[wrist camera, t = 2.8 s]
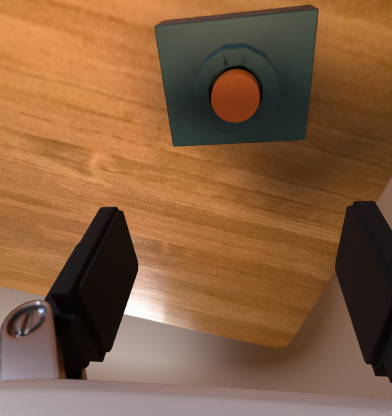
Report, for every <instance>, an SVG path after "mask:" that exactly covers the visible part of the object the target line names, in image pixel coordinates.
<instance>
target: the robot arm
mask: <svg viewBox="0 0 392 416" xmlns="http://www.w3.org/2000/svg"><path fill="white" fill-rule="evenodd" d="M335 270H336V274H337V278H338V280H339V284H340V287H341V290H342V293H343V296H344V299H345V302H346V305H347V308H348V311H349V314H350V318H351V321H352V324H353V327H354V330H355V333H356V336H357V339H358V343H359V346H360V349H361V352H362V355H363V358H364V360H365V362H366V364H371V365H372V368H373V370H374V374H375V376H386V377H388V378H389V380H390V382H391V383H392V230H391V228H390V227H389V225H388V223H387V222H386V220H385V218H384V217H383V215H382V213H381V212H380V210H379V208H378V206H377V205H376V203H375V202H374V201H355V202H354V203H353V205H352V206H348V207H347V209H346V214H345V219H344V224H343V228H342V233H341V238H340V243H339V248H338V253H337V257H336V263H335ZM137 272H138V260H137V257H136V254H135V250H134V247H133V243H132V240H131V237H130V233H129V230H128V226H127V223H126V219H125V216H124V213H123V211H119V209H118V208H117V207H101V208H100V209H99V211H98V212H97V214H96V216H95V217H94V219H93V221H92V223H91V224H90V226H89V228H88V229H87V231H86V233H85V234H84V236H83V238H82V240H81V241H80V243H79V244H78V245H77V246H76V247H75V249H74V251H73V252H72V254H71V256H70V257H69V259H68V261H67V262H66V264H65V266H64V267H63V269H62V271H61V272H60V274H59V276H58V277H57V279H56V281H55V283H54V284H53V286H52V288H51V289H50V291H49V293H48V294H47V296H46V298H45V300H44V301H43V300H33V301H29V302H26V303H24V304H22V305H20V306H18V307H17V308H15V309H14V310H12V311H11V312H10V313H9V314H8V316H7V317H6V318H5V320H4V321H3V323H2V326H1V330H0V416H392V399H387V398H374V397H362V396H347V395H331V394H316V393H301V392H286V391H271V390H270V391H269V390H254V389H238V388H221V387H205V386H188V385H171V384H153V383H134V382H117V381H99V380H87V375H86V370H85V368H86V367H87V366H88V365H89V363H90V361H93V362H103V360H104V357H105V354H106V352H109V351H111V349H112V346H113V343H114V340H115V338H116V335H117V331H118V329H119V326H120V323H121V320H122V317H123V314H124V311H125V308H126V305H127V302H128V299H129V296H130V293H131V290H132V287H133V284H134V281H135V278H136V275H137Z"/></svg>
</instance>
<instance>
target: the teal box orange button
mask: <svg viewBox="0 0 392 416" xmlns="http://www.w3.org/2000/svg"><path fill="white" fill-rule="evenodd" d="M318 11H319V10H318V8H315V7H313V6H311V5H305V6H296V7H287V8H277V9H268V10H259V11H250V12H241V13H232V14H222V15H213V16H204V17H195V18H186V19H177V20H167V21H162V22H161V23H159V24H157V25H156V26H155V27H154V28H155V34H156V40H157V47H158V53H159V59H160V66H161V72H162V79H163V85H164V91H165V98H166V104H167V110H168V117H169V123H170V130H171V136H172V142H173V146H174V147H175V146H195V145H215V144H235V143H255V142H275V141H294V140H305V139H306V130H307V120H308V110H309V100H310V91H311V81H312V71H313V61H314V51H315V41H316V31H317V21H318ZM230 69H243V70H246V71H248V72H249V73H251V74H252V75H253V76H254V78H255V79H256V81H257V84H258V88H259V93H260V101H259V105H258V108H257V110H256V111H255V113H254V114H253V115H252V116H251V117H250V118H248V119H246V120H244V121H241V122H228V121H225V120H223V119H221V118H220V117H219V116H218V115H217V114H216V113H215V111H214V109H213V107H212V102H211V96H212V91H213V87H214V84H215V82H216V80H217V78H218V77H219V76H220V75H221V74H222V73H224V72H225V71H228V70H230Z"/></svg>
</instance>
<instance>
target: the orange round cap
mask: <svg viewBox="0 0 392 416" xmlns="http://www.w3.org/2000/svg"><path fill="white" fill-rule="evenodd" d="M259 101H260V93H259V88H258V84H257V81H256V79H255V78H254V76H253V75H252V74H251V73H249V72H248V71H246V70H243V69H230V70H228V71H225V72H224V73H222V74H221V75H220V76H219V77H218V78H217V80H216V82H215V84H214V87H213V91H212V96H211V102H212V107H213V109H214V111H215V113H216V114H217V115H218V116H219V117H220V118H221V119H223V120H225V121H228V122H241V121H244V120H246V119H248V118H250V117H251V116H252V115H253V114H254V113H255V111H256V110H257V108H258V105H259Z"/></svg>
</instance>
